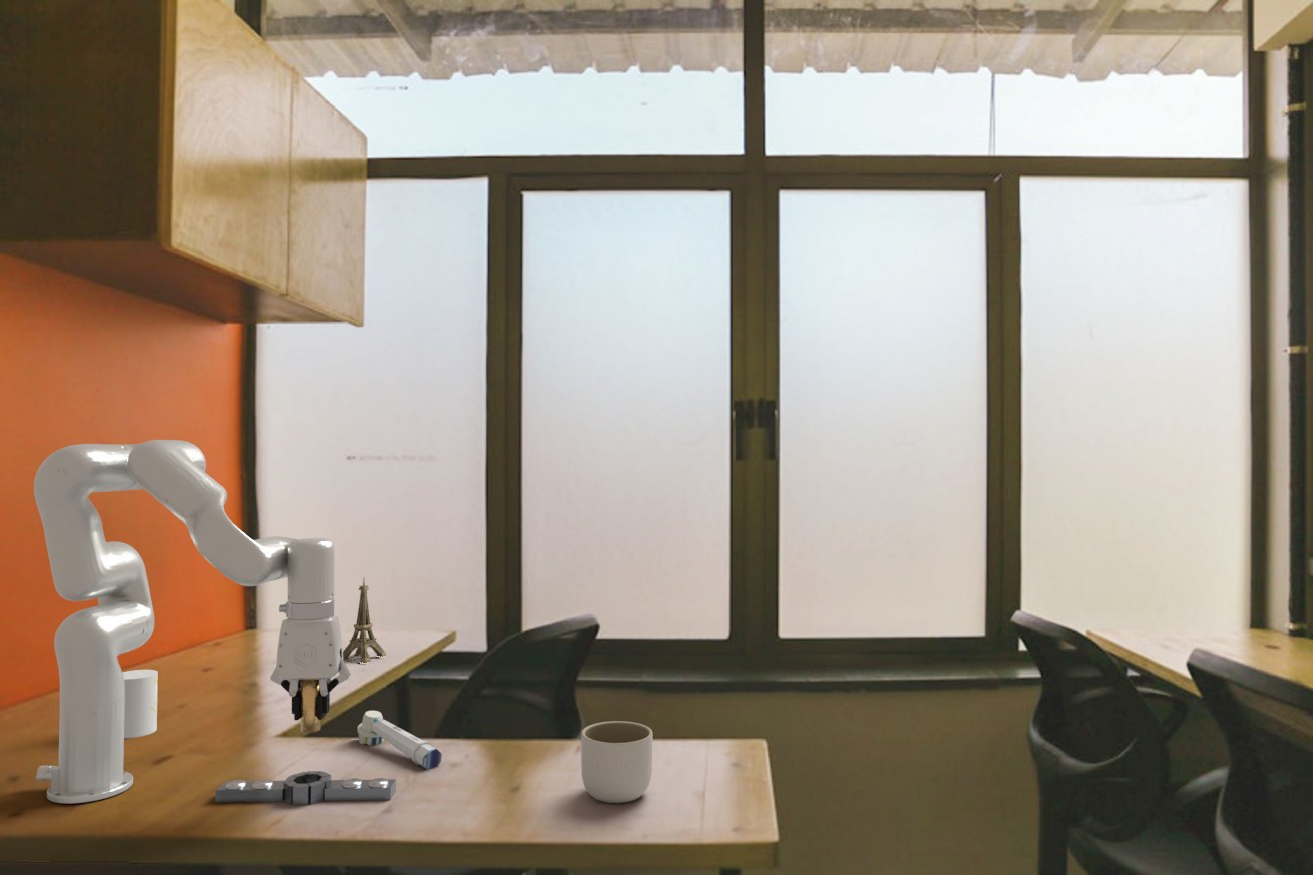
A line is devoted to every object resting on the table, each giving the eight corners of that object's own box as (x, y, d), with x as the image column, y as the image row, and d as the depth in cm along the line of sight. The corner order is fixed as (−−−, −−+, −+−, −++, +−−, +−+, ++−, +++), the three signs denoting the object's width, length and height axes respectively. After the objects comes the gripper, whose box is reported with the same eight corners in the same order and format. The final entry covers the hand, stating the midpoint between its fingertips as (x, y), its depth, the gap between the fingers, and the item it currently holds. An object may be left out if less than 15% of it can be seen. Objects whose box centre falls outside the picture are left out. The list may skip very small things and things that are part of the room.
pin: (297, 732, 150) (298, 679, 150) (304, 726, 153) (304, 674, 153) (317, 732, 150) (317, 679, 150) (323, 726, 153) (323, 674, 153)
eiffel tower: (359, 653, 257) (360, 567, 257) (389, 656, 253) (391, 569, 253) (334, 661, 247) (336, 572, 247) (366, 665, 243) (367, 574, 243)
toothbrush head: (422, 752, 163) (354, 706, 180) (418, 786, 164) (351, 737, 180) (446, 745, 167) (377, 701, 184) (442, 779, 167) (374, 732, 184)
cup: (162, 732, 184) (163, 674, 184) (118, 741, 178) (119, 681, 178) (149, 723, 190) (150, 667, 190) (106, 731, 184) (107, 674, 184)
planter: (658, 785, 158) (659, 723, 158) (642, 812, 146) (643, 746, 146) (592, 778, 161) (593, 718, 161) (570, 804, 149) (571, 740, 149)
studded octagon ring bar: (211, 805, 147) (211, 787, 147) (229, 789, 154) (229, 772, 154) (388, 803, 148) (388, 785, 149) (397, 787, 156) (398, 770, 156)
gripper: (253, 615, 147) (253, 725, 147) (353, 613, 148) (353, 723, 148) (270, 607, 155) (269, 712, 155) (365, 606, 156) (365, 710, 156)
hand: (310, 716), depth 151 cm, fingers closed on pin, 3 cm apart
